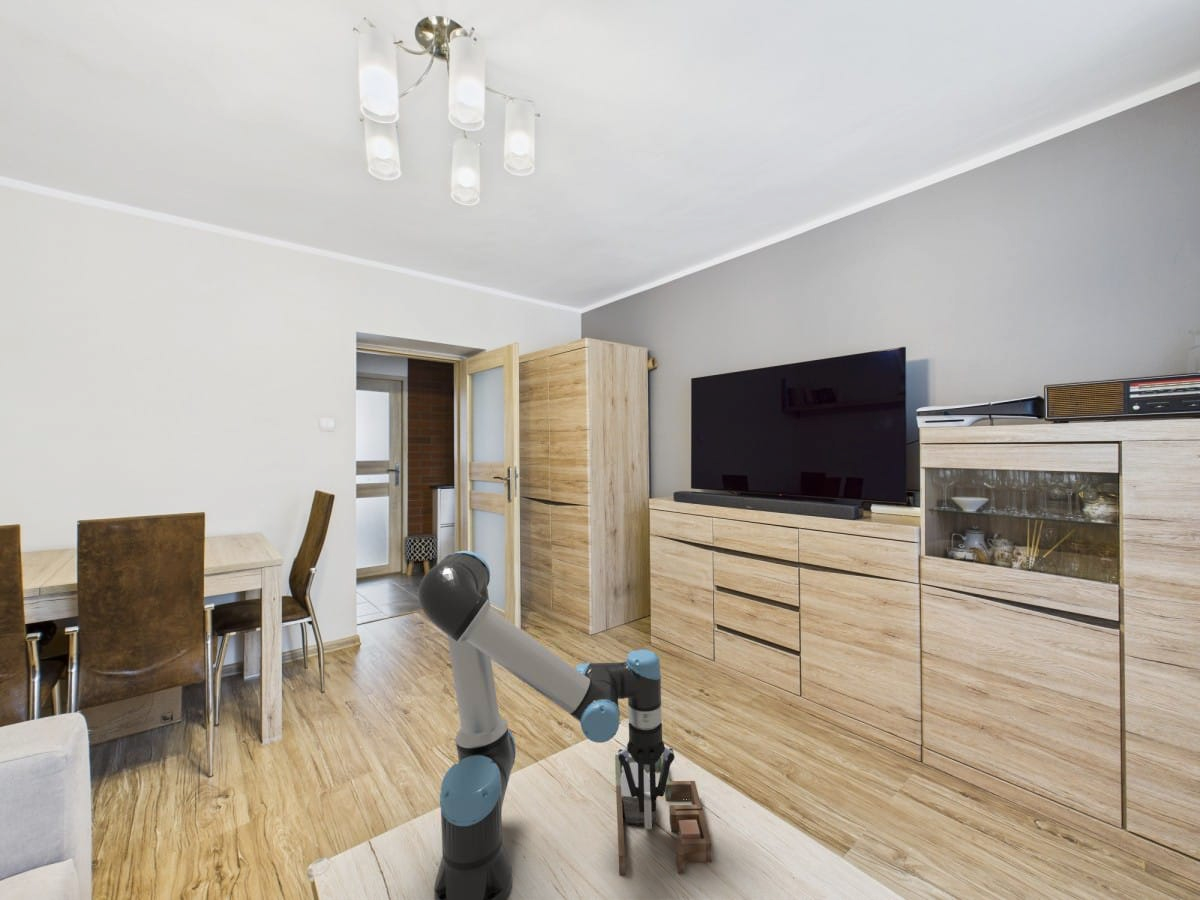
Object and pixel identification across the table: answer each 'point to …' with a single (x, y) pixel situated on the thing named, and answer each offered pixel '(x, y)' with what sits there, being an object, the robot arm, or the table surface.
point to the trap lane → (672, 819)
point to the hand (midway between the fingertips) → (647, 824)
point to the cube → (688, 829)
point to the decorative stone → (632, 803)
